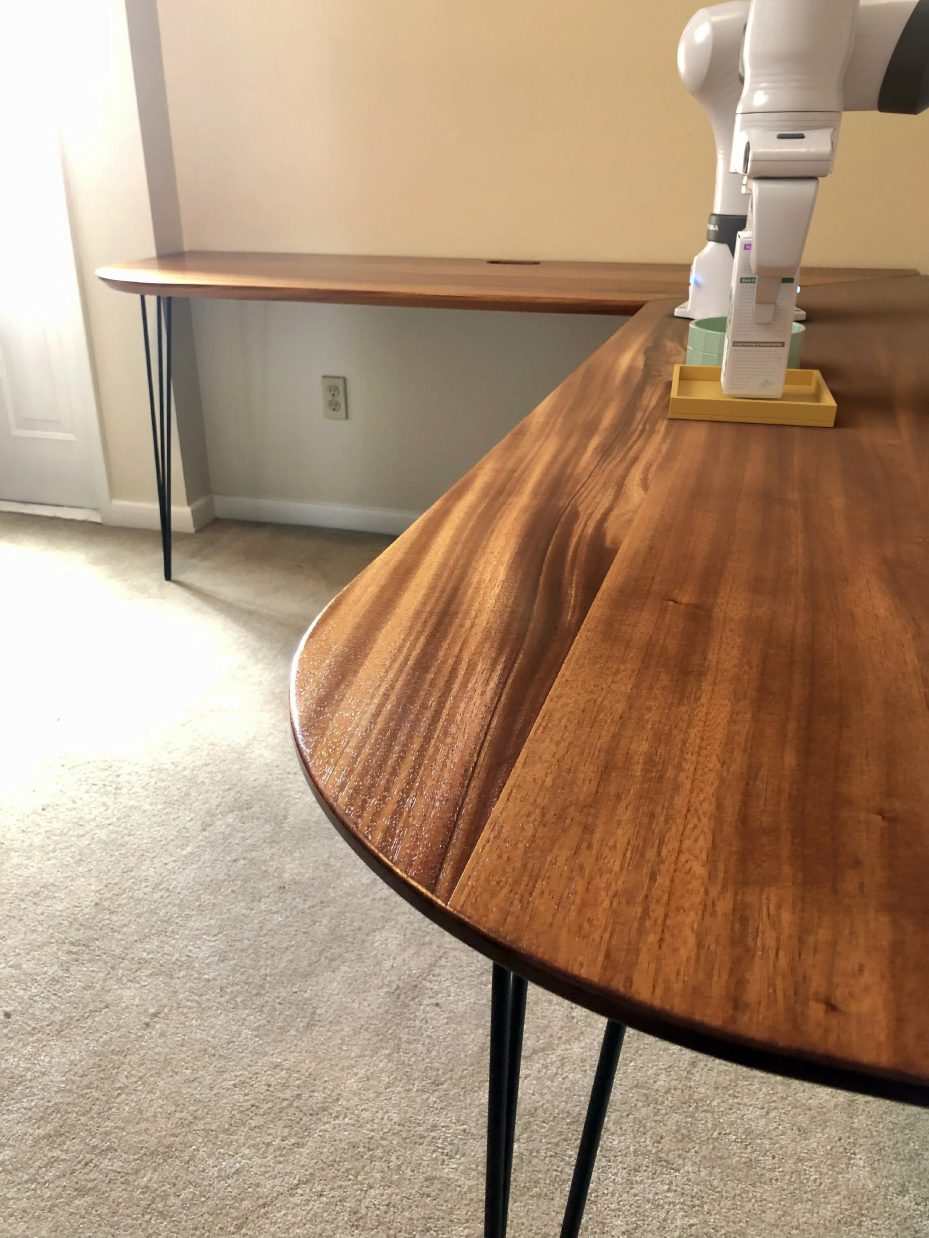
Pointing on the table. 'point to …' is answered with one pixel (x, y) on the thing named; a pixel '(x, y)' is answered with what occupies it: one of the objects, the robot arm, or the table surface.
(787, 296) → the syrup box
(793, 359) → the bowl
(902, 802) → the table surface
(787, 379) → the tray
